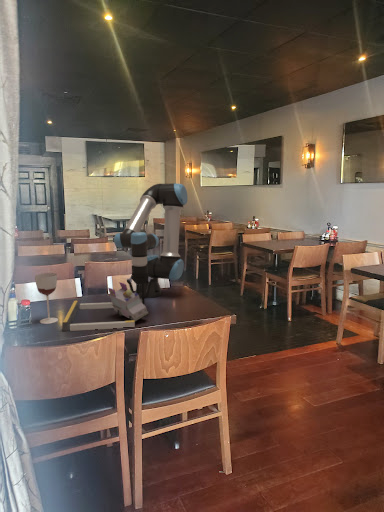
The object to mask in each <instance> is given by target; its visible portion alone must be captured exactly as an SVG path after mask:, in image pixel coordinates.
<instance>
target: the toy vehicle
mask: <svg viewBox="0 0 384 512" xmlns="http://www.w3.org/2000/svg"><path fill="white" fill-rule="evenodd" d="M118 283H119V285H120V287H121V288H120V289H118V290H116V291H115V289H113V288H111V287H108V291H109V292H108V293H109V297H110V301H111V302H112V304H113V305H112V306H113V307H114V308H113V312H116V313H117V315H118V316H119V317H123V316H124V317H125V318H128V319H129V321H131V320H135V323H136V322H137V321H138V320H140V319H141V318H143V317H146V316H147V315H149V311H148V309H147V306H146V304H145V305H144V304H143V303H142V302H141V301H142V297H139V295H138V293H135V292H134V293H133V292H132V291H131V290H130V289H128V287H127V284H125V283H123V282H118ZM140 298H141V300H140Z"/></svg>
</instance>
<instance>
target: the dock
mask: <svg viewBox="0 0 384 512" xmlns="http://www.w3.org/2000/svg"><path fill="white" fill-rule="evenodd" d="M112 305H113V304H112V301H111V302H109V301H108V302H89V303H87V302H86V303H80V304H79V300H74V301H73V302H72V303H71V306H70V308H69V310H68V312H67V314H66V316H65V318H64V319H63V320H62V332H68V331H69V332H74V331H75V332H76V331H95V329H98V330H111V329H112V330H114V329H113V328H117V329H124V328H123V327H135V325H136V322H135V320H124V321H101V322H100V321H99V322H79V323H73V321H74V318H75V316H76V314H77V313H78V310H97V309H98V310H99V309H114V307H113V306H112Z"/></svg>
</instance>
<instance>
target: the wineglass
mask: <svg viewBox="0 0 384 512" xmlns="http://www.w3.org/2000/svg"><path fill="white" fill-rule="evenodd" d="M34 280H35V284H36V289H37V291H38V292H39V294H41V295H44V296H46V307H47V317H46V318H43V319H40V320H39V323H41V324H43V325H44V324H46V325H48V324H53V323H56V322H59V318H56V317H51V316H50V315H51V314H50V301H49V300H50V299H49V295H51V294H54V292H55V290H56V289H57V283H58V275H57V273H54V272H45V273H40V274H39V273H38V274H36V275H34Z"/></svg>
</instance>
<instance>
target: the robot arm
mask: <svg viewBox="0 0 384 512" xmlns="http://www.w3.org/2000/svg"><path fill="white" fill-rule="evenodd" d="M187 203H188V192H187V189H186V186H185V185H184V184H183V183H176V182H175V183H156V184H152V186H150V187H149V188H146V190H145V191H144V192H143V193H142V195H141V197H140V199H139V204H138V205H137V207H136V209H135V210H134V211H133V213H132V216H131V218H130V219H129V221H128V223H127V224H126V226H125V228H124V229H123V231H122V232H118V233H116V234H115V235H114V238H113V242H114V245H115V247H117V248H119V249H130V250H131V251H130V252H131V253H130V254H131V255H130V256H131V276H130V277H129V278H126V283H127V284H128V286H129V290H131V291H132V292H133V293H135V294H136V293H138V295H139V298H140V300H141V298H142V301H141V302H142V303H143V304H144V305H145V306H146V304H145V303H146V302H145V300H146V299H150V298H157V297H159V296H161V295H162V287H161V285H160V282H159V279H162V280H163V279H164V280H176V281H177V280H179V279H180V277H182V274H183V272H184V269H185V267H184V266H185V263H184V260H183V259H181V255H180V254H179V244H180V240H179V239H180V224H181V223H180V222H181V211H182V210H183V209H184V206H185V205H186V204H187ZM157 205H162V208H163V209H164V210H165V211H164V224H163V225H164V230H163V244H162V245H163V247H162V248H163V249H162V253H161V254H160V255H159V256H158V254H149V255H148V251H150V250H154V249H155V248H157V247H158V245H159V242H160V239H159V237H158V236H157V235H156V233H148V234H147V233H146V232H143V231H142V232H141V230H142V229H143V226H144V225H145V223H146V221H147V219H148V217H149V215H150V214H151V212H152V210H153V209H155V208H156V206H157ZM132 282H133V283H135V284H136V285H135V290H134V287H133V283H132Z"/></svg>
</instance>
